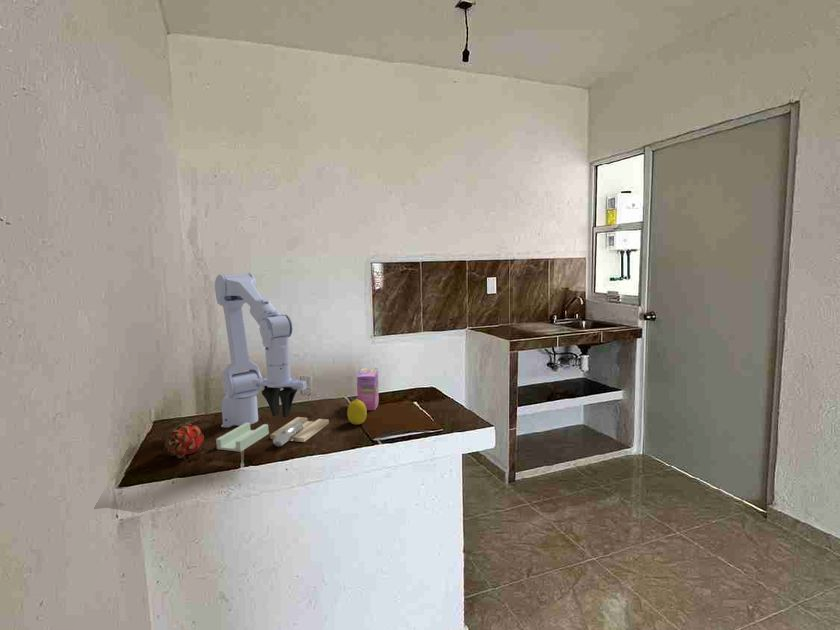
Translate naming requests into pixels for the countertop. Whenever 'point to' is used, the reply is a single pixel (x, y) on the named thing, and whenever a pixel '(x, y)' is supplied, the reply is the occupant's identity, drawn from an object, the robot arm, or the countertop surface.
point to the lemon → (357, 412)
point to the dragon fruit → (183, 440)
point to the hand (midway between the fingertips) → (281, 415)
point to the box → (368, 387)
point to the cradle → (241, 437)
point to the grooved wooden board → (304, 428)
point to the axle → (287, 434)
